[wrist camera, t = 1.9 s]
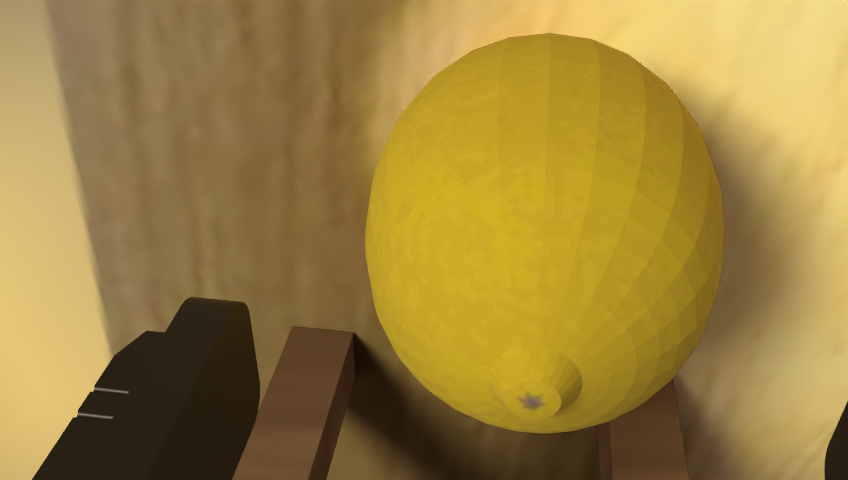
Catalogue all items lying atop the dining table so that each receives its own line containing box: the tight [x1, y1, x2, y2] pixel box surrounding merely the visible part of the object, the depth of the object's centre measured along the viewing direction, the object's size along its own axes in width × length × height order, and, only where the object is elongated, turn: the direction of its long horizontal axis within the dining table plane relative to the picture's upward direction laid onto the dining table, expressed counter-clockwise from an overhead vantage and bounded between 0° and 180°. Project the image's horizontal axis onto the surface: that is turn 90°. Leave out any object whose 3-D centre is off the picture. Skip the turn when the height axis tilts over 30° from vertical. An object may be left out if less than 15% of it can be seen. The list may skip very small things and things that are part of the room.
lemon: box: [365, 33, 723, 434], centre depth 13 cm, size 6×6×8 cm
